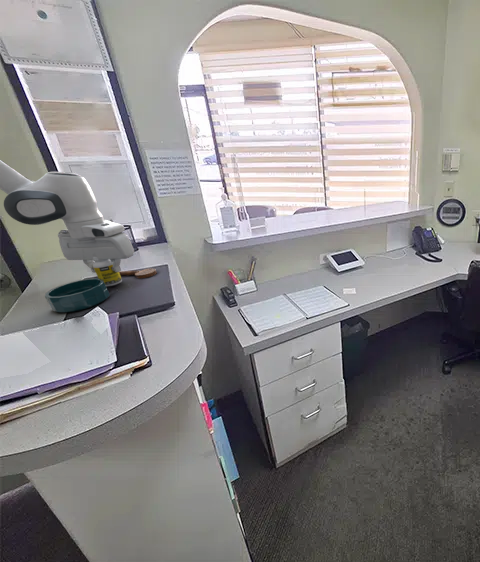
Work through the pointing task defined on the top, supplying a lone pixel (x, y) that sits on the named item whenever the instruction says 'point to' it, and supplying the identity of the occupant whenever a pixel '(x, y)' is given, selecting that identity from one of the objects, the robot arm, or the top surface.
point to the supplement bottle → (106, 271)
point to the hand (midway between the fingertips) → (107, 271)
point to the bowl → (77, 295)
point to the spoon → (139, 273)
